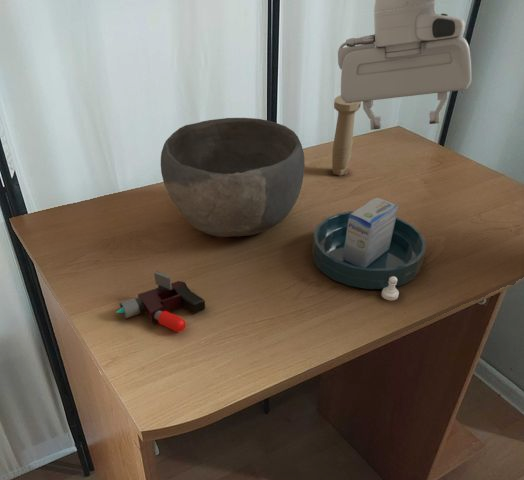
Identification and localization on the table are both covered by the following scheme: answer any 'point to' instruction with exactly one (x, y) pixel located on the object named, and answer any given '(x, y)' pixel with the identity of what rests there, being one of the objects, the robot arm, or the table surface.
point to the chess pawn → (391, 290)
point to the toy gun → (164, 303)
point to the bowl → (233, 174)
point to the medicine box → (369, 232)
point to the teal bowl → (379, 271)
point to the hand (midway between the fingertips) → (404, 126)
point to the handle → (343, 135)
